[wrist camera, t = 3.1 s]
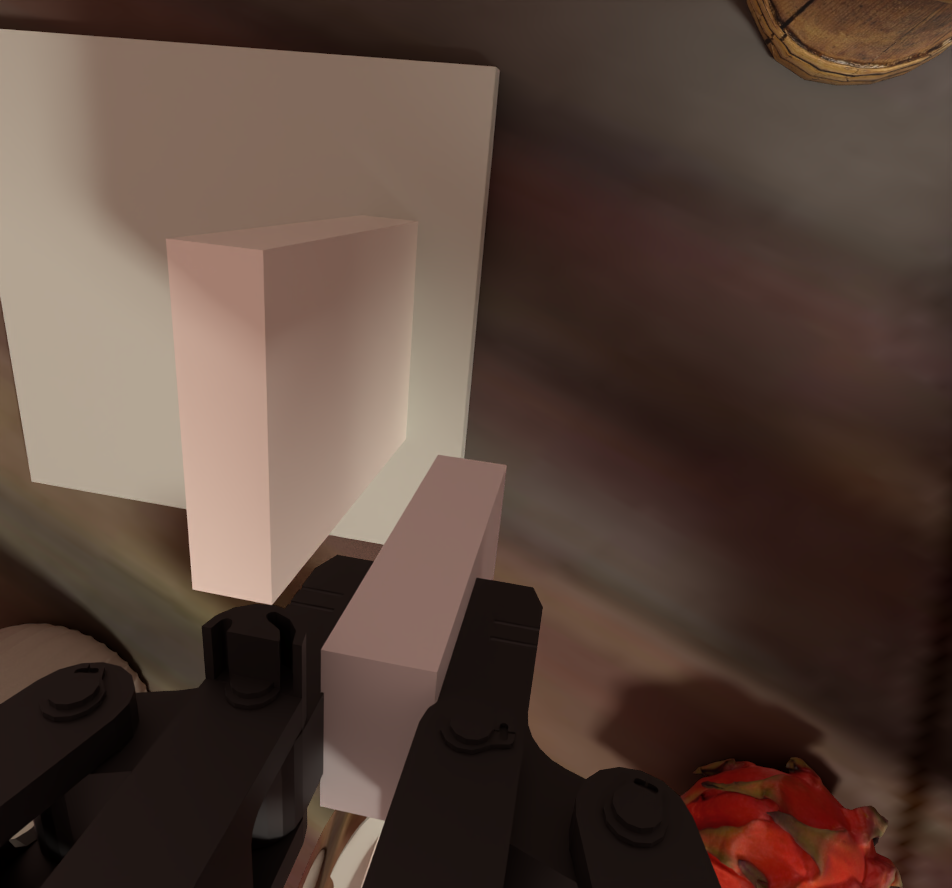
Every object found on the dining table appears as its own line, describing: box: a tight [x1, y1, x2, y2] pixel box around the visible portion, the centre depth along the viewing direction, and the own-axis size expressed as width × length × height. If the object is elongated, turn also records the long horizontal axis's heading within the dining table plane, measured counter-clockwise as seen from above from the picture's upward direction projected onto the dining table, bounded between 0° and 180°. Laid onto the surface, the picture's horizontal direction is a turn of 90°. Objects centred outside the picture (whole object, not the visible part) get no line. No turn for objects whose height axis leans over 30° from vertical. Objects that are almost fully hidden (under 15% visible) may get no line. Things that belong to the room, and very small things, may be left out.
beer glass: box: [298, 810, 385, 888], centre depth 32 cm, size 7×7×15 cm
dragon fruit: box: [680, 757, 903, 888], centre depth 34 cm, size 8×8×12 cm
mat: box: [0, 29, 500, 544], centre depth 32 cm, size 24×22×1 cm
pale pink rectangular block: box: [166, 215, 418, 605], centre depth 24 cm, size 3×10×14 cm, turn 175°
